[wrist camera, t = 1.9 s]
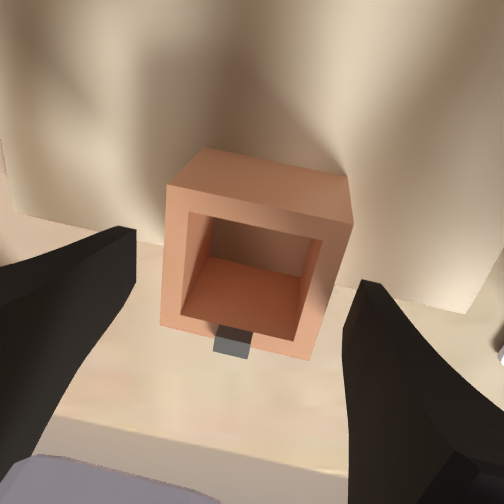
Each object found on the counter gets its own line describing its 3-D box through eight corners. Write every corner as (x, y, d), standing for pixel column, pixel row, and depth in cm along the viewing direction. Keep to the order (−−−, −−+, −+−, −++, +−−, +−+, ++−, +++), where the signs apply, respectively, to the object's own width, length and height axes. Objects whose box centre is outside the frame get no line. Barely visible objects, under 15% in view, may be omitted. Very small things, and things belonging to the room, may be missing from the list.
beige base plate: (737, -233, 10) (801, -273, 8) (455, 293, 18) (465, 314, 16) (-41, -342, 11) (-91, -392, 9) (34, 199, 19) (13, 212, 18)
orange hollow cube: (347, 176, 14) (355, 234, 10) (312, 293, 17) (308, 373, 13) (203, 147, 15) (159, 192, 11) (192, 266, 18) (153, 336, 14)
